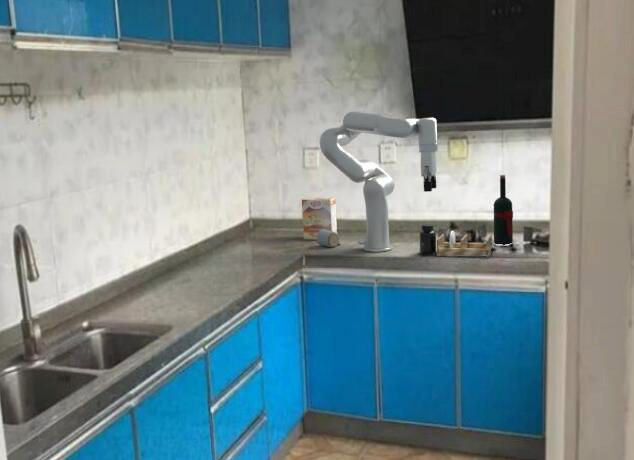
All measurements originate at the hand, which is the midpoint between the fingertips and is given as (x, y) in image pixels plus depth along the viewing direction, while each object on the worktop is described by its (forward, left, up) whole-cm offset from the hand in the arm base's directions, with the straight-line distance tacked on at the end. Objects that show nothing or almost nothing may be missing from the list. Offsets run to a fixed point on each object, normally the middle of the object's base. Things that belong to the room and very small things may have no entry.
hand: (430, 189), depth 296 cm
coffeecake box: (-59, +24, -27) cm, 69 cm away
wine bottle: (+28, +17, -27) cm, 42 cm away
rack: (+14, -1, -26) cm, 30 cm away
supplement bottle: (-1, -2, -27) cm, 27 cm away
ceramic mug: (-48, +7, -27) cm, 55 cm away
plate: (+9, -1, -26) cm, 28 cm away
